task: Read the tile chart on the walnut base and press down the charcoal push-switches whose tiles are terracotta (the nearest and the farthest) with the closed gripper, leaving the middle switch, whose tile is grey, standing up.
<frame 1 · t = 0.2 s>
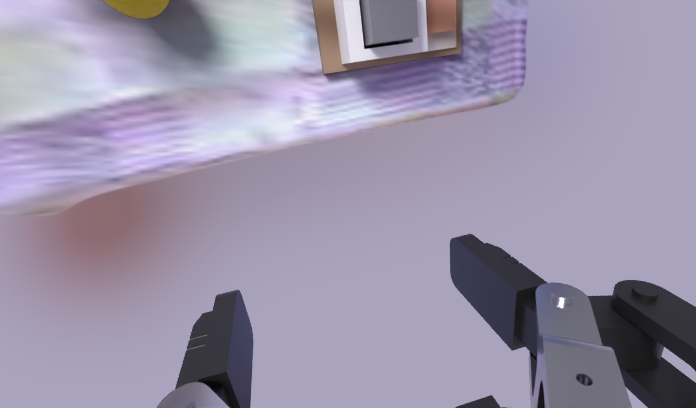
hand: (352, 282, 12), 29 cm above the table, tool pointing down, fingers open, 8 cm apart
button 3: (386, 16, 31), point 5 cm above the table, slide at 0.0 cm
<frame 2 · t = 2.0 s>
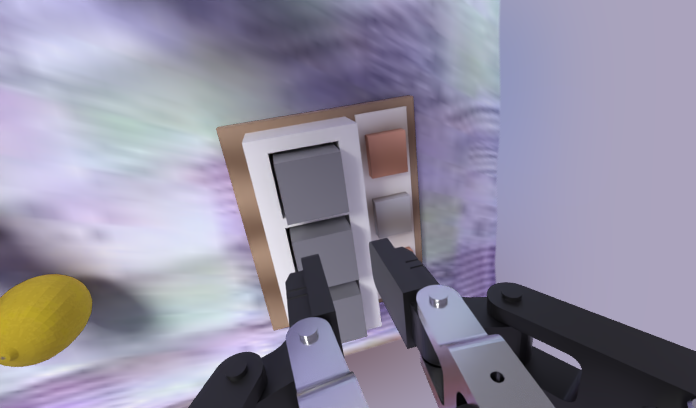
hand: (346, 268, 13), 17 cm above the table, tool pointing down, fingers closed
switch base: (335, 219, 31), on the table
button 2: (322, 249, 27), point 5 cm above the table, slide at 0.0 cm
lemon: (71, 283, 28), on the table
switch housing: (314, 223, 31), resting on switch base
button 3: (333, 307, 29), point 5 cm above the table, slide at 0.0 cm
button 1: (310, 180, 24), point 5 cm above the table, slide at 0.0 cm
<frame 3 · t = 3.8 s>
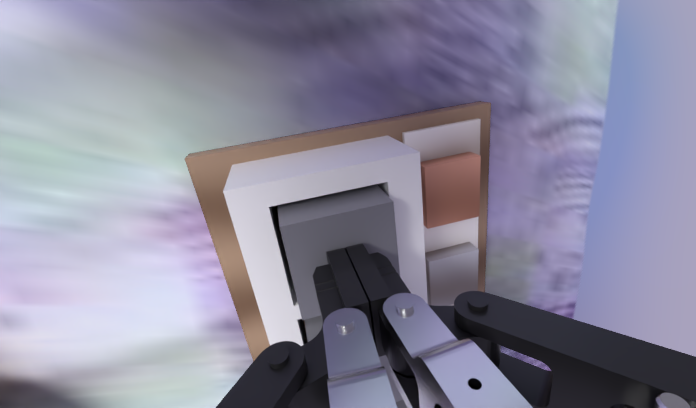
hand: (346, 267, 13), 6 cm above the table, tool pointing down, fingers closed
switch base: (366, 279, 22), on the table
button 2: (355, 344, 17), point 5 cm above the table, slide at 0.0 cm
switch housing: (336, 287, 21), resting on switch base
button 1: (336, 240, 15), point 4 cm above the table, slide at 0.6 cm, touching gripper
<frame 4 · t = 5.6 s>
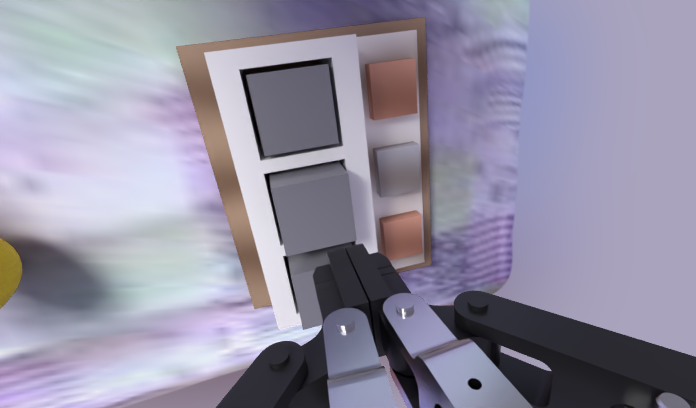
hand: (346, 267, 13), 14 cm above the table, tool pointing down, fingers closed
switch base: (328, 174, 26), on the table
button 2: (311, 203, 21), point 5 cm above the table, slide at 0.0 cm
lemon: (0, 246, 23), on the table
switch housing: (303, 179, 26), resting on switch base
button 3: (325, 278, 24), point 5 cm above the table, slide at 0.0 cm
button 1: (292, 107, 21), point 3 cm above the table, slide at 1.7 cm
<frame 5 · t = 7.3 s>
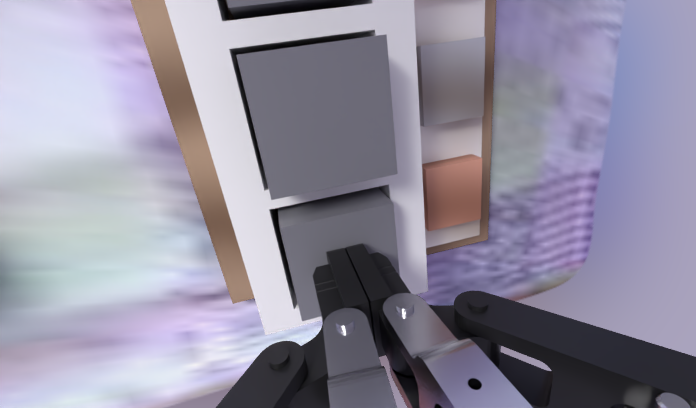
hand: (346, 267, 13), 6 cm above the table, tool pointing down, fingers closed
switch base: (341, 96, 17), on the table
button 2: (317, 114, 12), point 5 cm above the table, slide at 0.0 cm
switch housing: (303, 102, 17), resting on switch base
button 3: (336, 241, 15), point 4 cm above the table, slide at 0.7 cm, touching gripper
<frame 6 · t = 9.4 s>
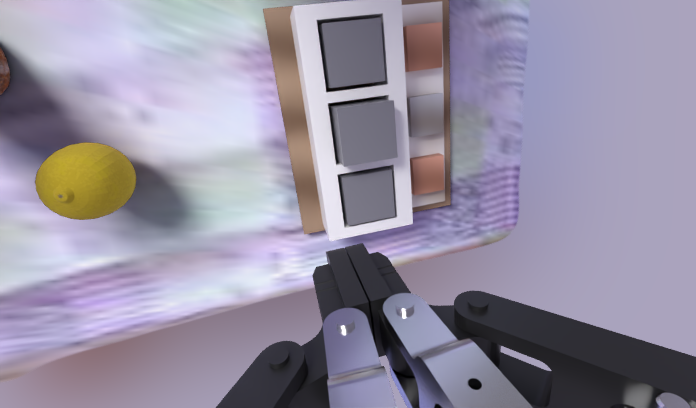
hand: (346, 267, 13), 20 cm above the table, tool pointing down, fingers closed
switch base: (368, 121, 32), on the table
button 2: (361, 130, 27), point 5 cm above the table, slide at 0.0 cm
lemon: (114, 167, 29), on the table
switch housing: (348, 124, 32), resting on switch base
button 3: (363, 191, 31), point 3 cm above the table, slide at 1.7 cm
button 1: (349, 55, 27), point 3 cm above the table, slide at 1.7 cm
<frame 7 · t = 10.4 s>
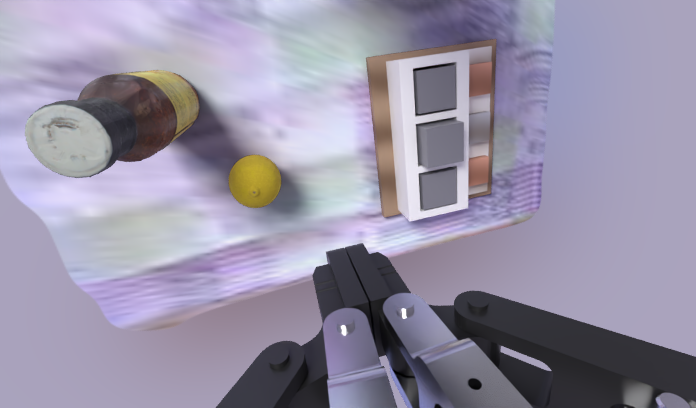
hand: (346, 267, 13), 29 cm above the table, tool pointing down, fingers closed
switch base: (433, 132, 44), on the table
button 2: (437, 142, 39), point 5 cm above the table, slide at 0.0 cm
lemon: (256, 170, 40), on the table
switch housing: (419, 135, 43), resting on switch base
button 3: (432, 184, 42), point 3 cm above the table, slide at 1.7 cm
button 1: (428, 89, 38), point 3 cm above the table, slide at 1.7 cm
sauce bottle: (170, 103, 36), on the table
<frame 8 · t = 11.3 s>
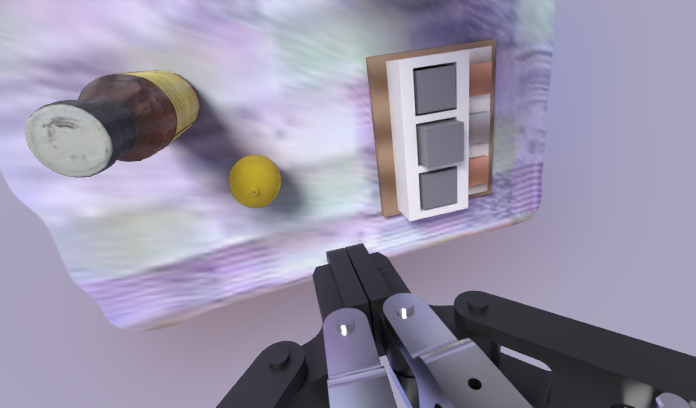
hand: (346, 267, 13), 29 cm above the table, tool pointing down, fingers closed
switch base: (433, 132, 44), on the table
button 2: (437, 142, 39), point 5 cm above the table, slide at 0.0 cm
lemon: (256, 170, 40), on the table
switch housing: (419, 134, 43), resting on switch base
button 3: (432, 184, 42), point 3 cm above the table, slide at 1.7 cm
button 1: (428, 89, 38), point 3 cm above the table, slide at 1.7 cm
sauce bottle: (170, 103, 36), on the table
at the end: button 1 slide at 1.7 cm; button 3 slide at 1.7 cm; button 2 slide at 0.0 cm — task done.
